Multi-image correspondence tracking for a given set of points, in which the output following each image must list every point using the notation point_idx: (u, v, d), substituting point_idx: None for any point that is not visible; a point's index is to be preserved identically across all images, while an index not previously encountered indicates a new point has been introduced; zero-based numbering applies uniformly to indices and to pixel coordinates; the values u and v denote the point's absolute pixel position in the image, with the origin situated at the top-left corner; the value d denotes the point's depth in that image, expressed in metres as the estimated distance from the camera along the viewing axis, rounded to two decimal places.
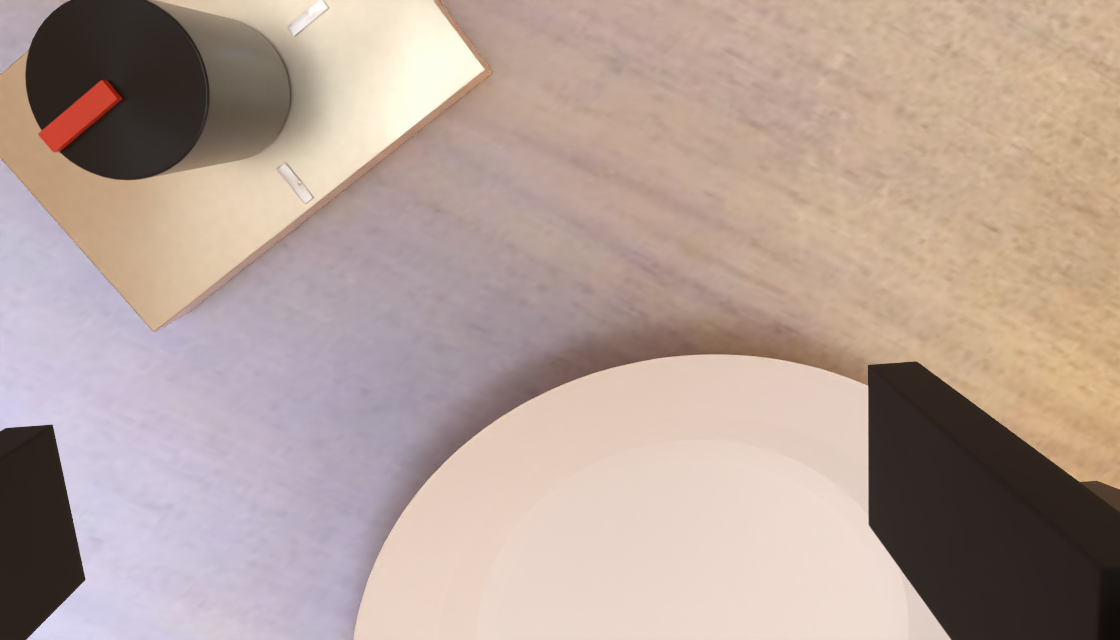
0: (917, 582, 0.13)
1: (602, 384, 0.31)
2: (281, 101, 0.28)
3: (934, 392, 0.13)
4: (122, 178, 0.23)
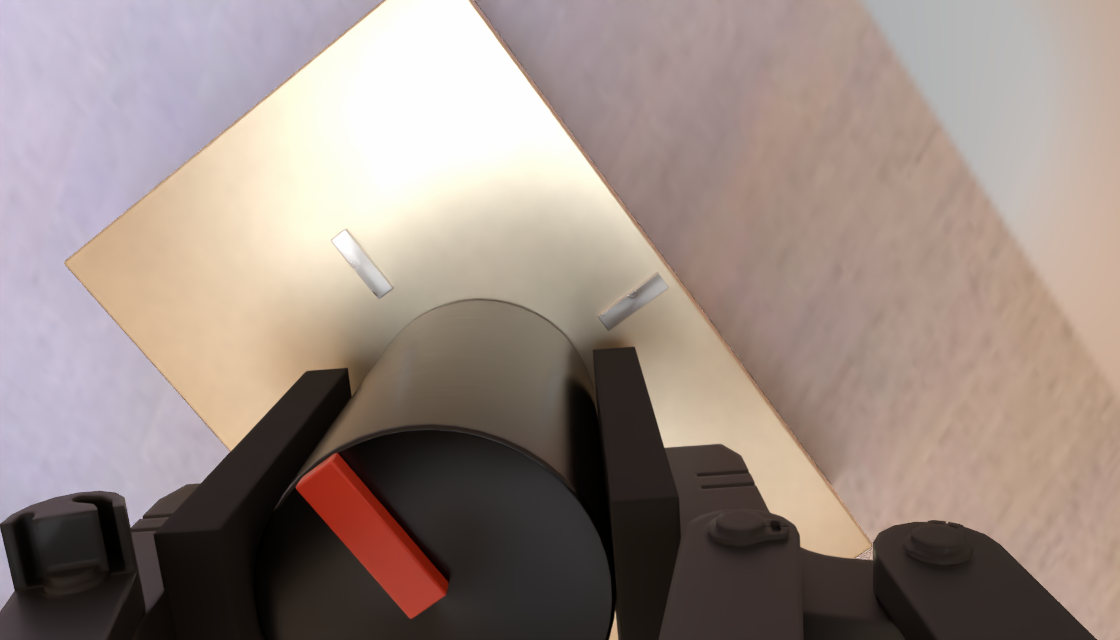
0: None
1: None
2: None
3: (623, 371, 0.15)
4: (257, 588, 0.11)
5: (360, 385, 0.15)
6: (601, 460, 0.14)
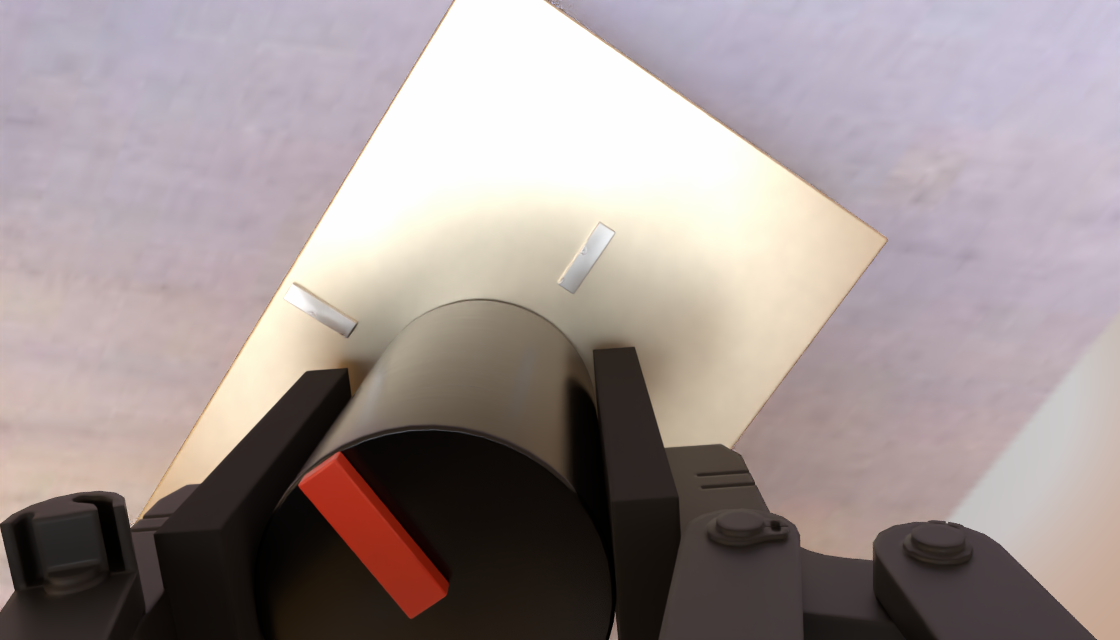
0: None
1: None
2: None
3: (622, 371, 0.15)
4: (256, 585, 0.11)
5: (362, 383, 0.15)
6: (601, 463, 0.14)
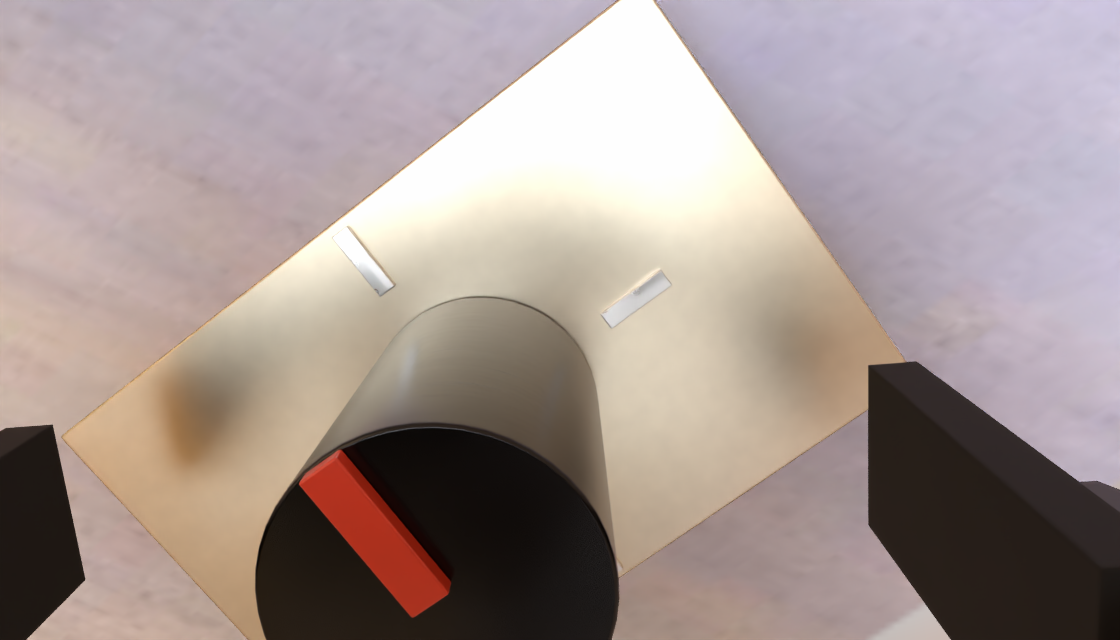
0: (917, 582, 0.13)
1: None
2: None
3: (933, 392, 0.13)
4: (257, 584, 0.11)
5: (363, 381, 0.15)
6: (604, 460, 0.14)
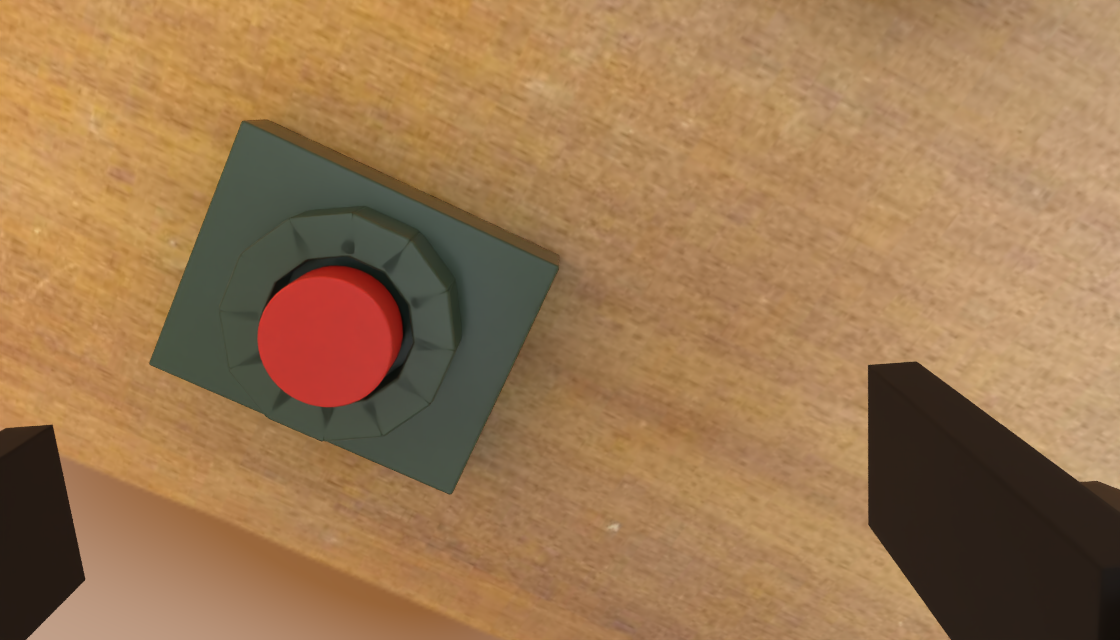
0: (917, 582, 0.13)
1: None
2: None
3: (934, 392, 0.13)
4: None
5: None
6: None
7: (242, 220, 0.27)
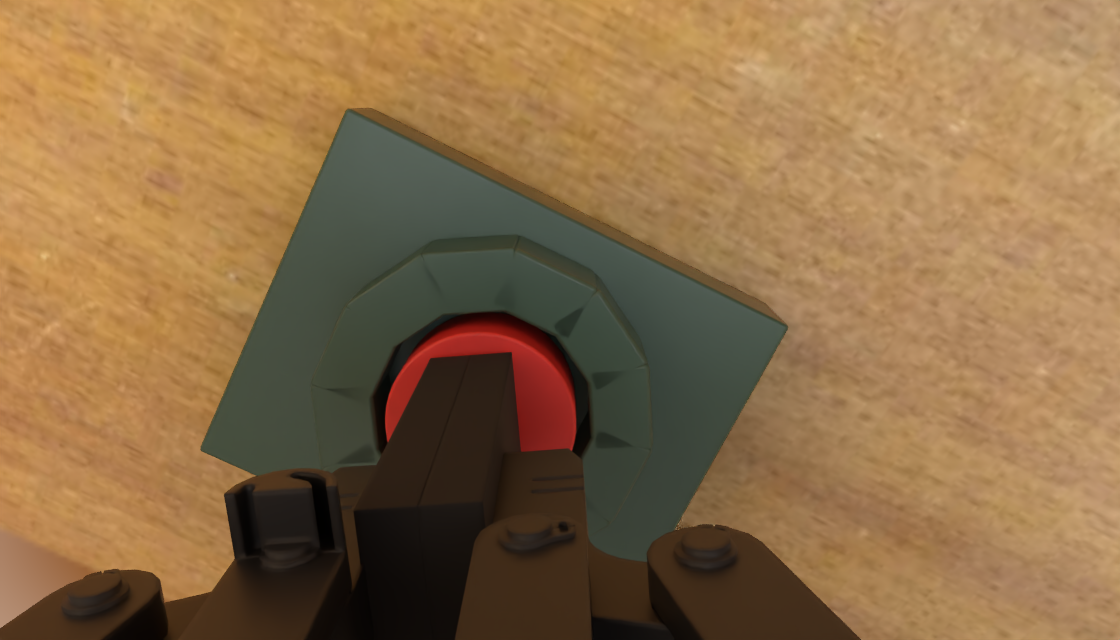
0: None
1: None
2: None
3: (488, 377, 0.16)
4: None
5: None
6: None
7: (340, 252, 0.19)
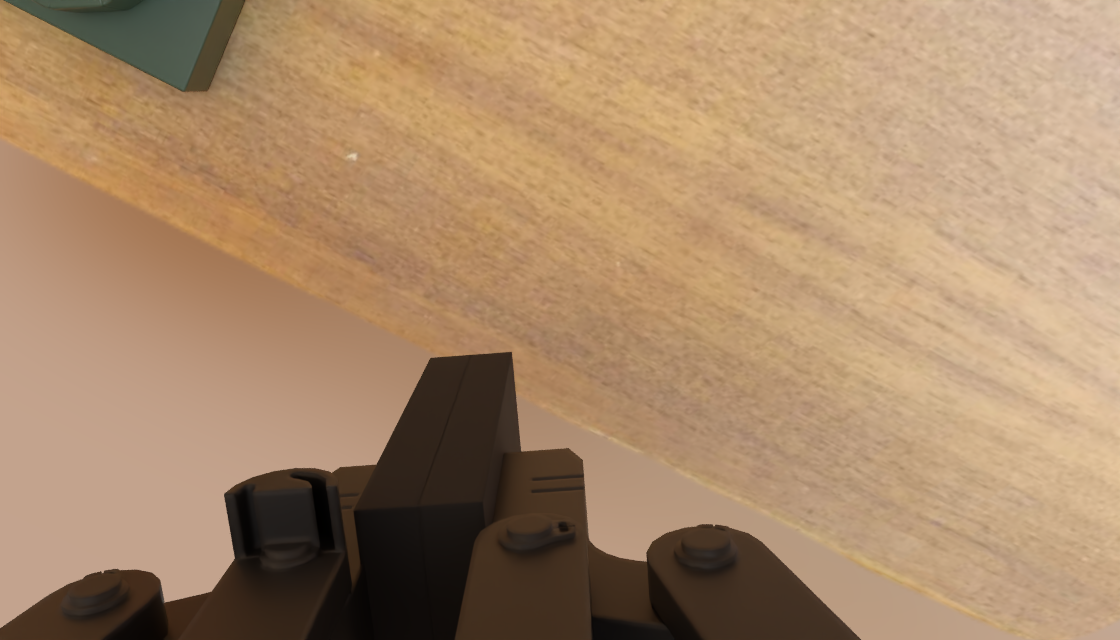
0: None
1: None
2: None
3: (488, 377, 0.16)
4: None
5: None
6: None
7: None
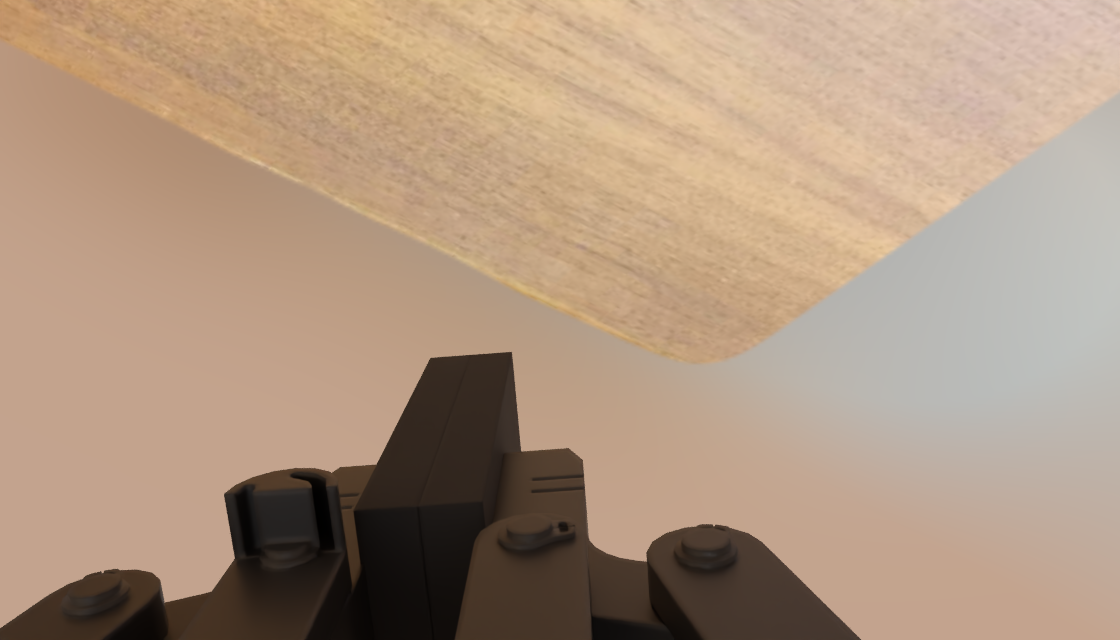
0: None
1: None
2: None
3: (488, 376, 0.16)
4: None
5: None
6: None
7: None
